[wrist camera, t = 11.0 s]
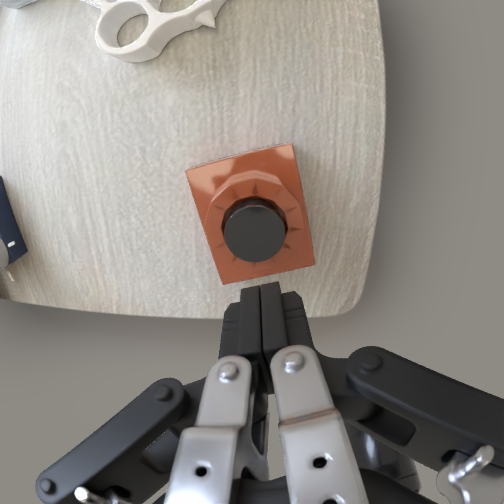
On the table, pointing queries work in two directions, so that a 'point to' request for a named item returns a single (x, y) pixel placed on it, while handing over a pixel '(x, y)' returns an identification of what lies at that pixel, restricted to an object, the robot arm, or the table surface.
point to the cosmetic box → (15, 3)
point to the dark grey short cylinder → (254, 231)
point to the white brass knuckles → (159, 26)
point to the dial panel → (10, 230)
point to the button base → (245, 188)
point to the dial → (3, 255)
